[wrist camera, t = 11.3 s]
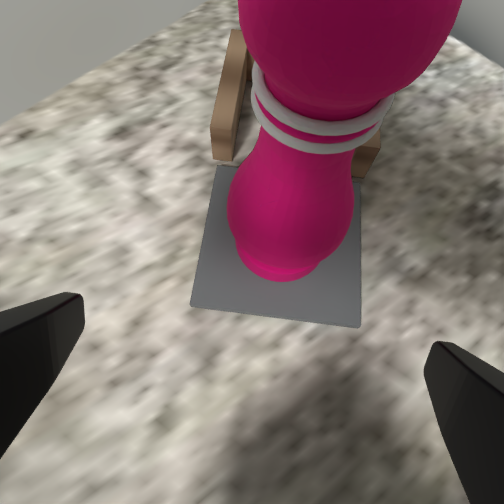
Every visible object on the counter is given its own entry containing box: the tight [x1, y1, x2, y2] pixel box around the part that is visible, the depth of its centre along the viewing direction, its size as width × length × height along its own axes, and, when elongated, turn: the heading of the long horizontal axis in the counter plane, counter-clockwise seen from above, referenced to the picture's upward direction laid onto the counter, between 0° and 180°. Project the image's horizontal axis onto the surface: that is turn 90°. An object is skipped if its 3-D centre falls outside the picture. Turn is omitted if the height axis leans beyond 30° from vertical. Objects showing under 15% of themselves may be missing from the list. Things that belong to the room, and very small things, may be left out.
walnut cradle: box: [210, 29, 381, 178], centre depth 28 cm, size 10×12×4 cm
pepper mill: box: [227, 0, 462, 282], centre depth 15 cm, size 7×7×20 cm
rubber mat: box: [190, 165, 361, 328], centre depth 25 cm, size 11×11×1 cm
